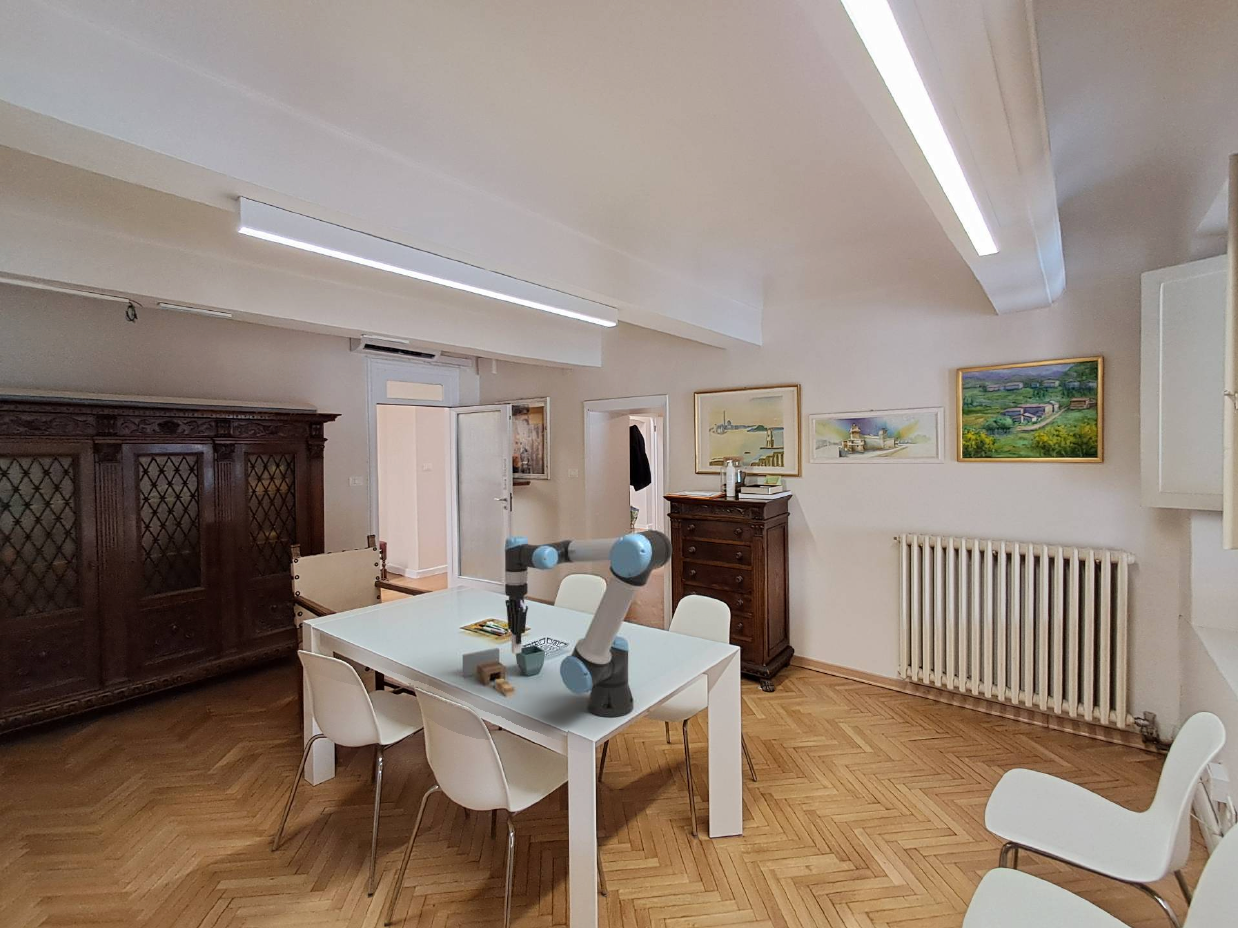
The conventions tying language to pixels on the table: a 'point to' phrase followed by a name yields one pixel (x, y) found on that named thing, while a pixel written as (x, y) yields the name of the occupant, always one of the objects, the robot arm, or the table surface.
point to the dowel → (504, 687)
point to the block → (490, 672)
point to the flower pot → (530, 660)
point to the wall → (478, 660)
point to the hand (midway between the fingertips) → (516, 652)
